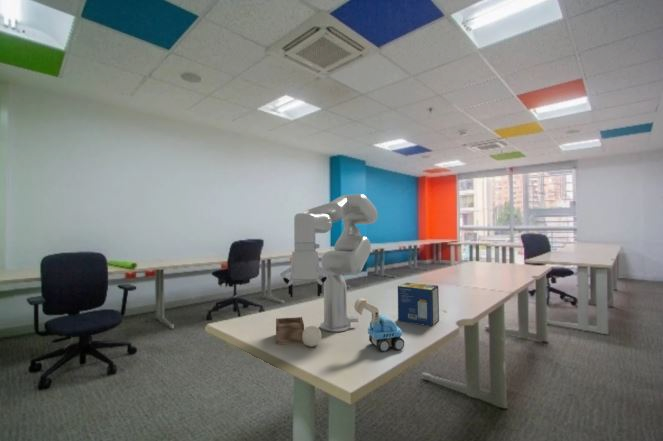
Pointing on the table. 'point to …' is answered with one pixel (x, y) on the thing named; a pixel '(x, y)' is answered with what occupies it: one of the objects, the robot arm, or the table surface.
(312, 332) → the steamed bun
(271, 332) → the table surface
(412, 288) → the protein box
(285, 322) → the walnut block
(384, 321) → the toy excavator
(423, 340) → the table surface
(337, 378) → the table surface
